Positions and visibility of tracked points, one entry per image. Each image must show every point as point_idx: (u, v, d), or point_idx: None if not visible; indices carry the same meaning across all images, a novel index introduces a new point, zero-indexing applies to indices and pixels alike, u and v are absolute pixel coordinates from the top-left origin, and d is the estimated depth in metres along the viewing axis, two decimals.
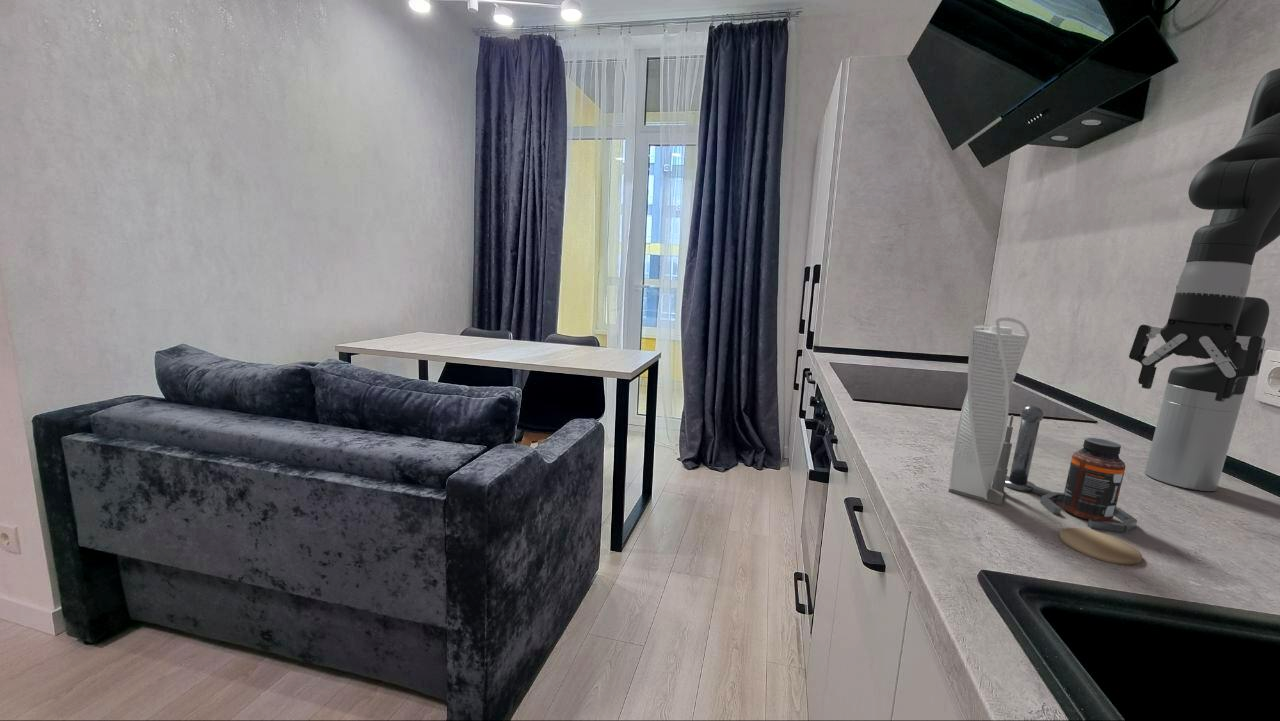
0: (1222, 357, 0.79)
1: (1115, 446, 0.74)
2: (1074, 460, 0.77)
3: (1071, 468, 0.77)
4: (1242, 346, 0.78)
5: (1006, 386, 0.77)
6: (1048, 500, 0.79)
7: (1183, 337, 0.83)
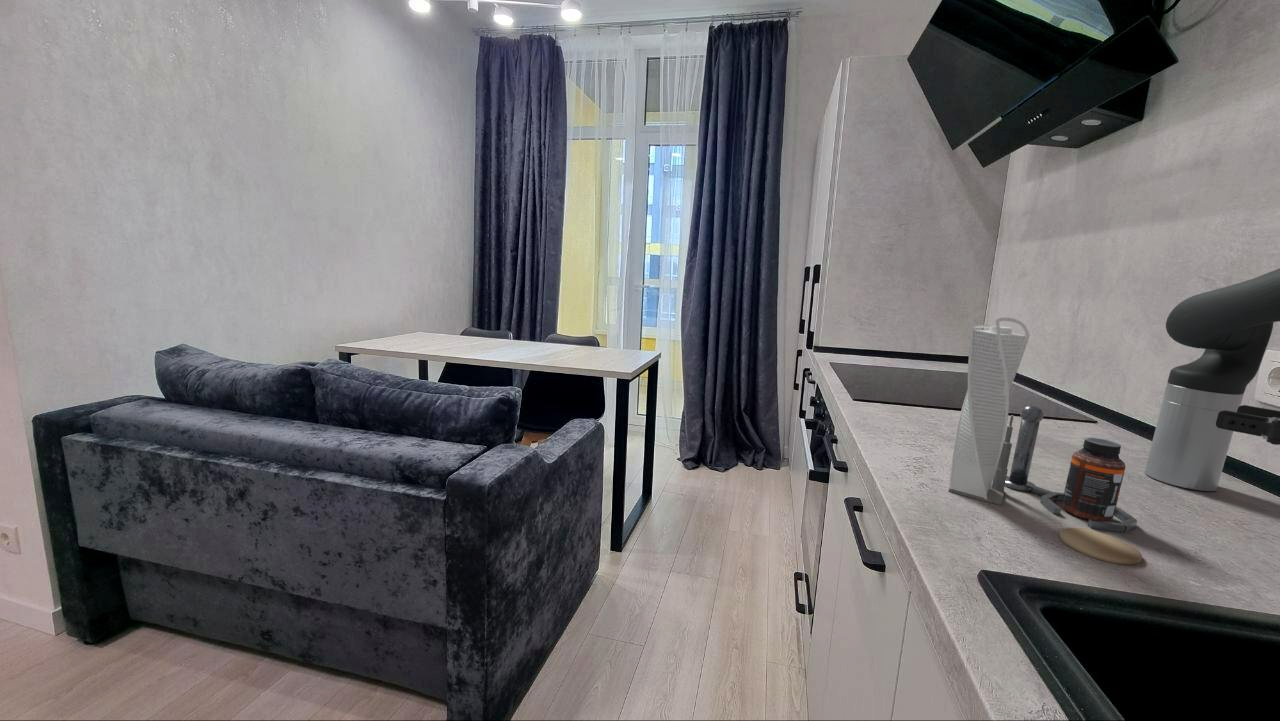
0: None
1: (1115, 446, 0.74)
2: (1074, 460, 0.77)
3: (1071, 468, 0.77)
4: None
5: (1006, 386, 0.77)
6: (1048, 500, 0.79)
7: None
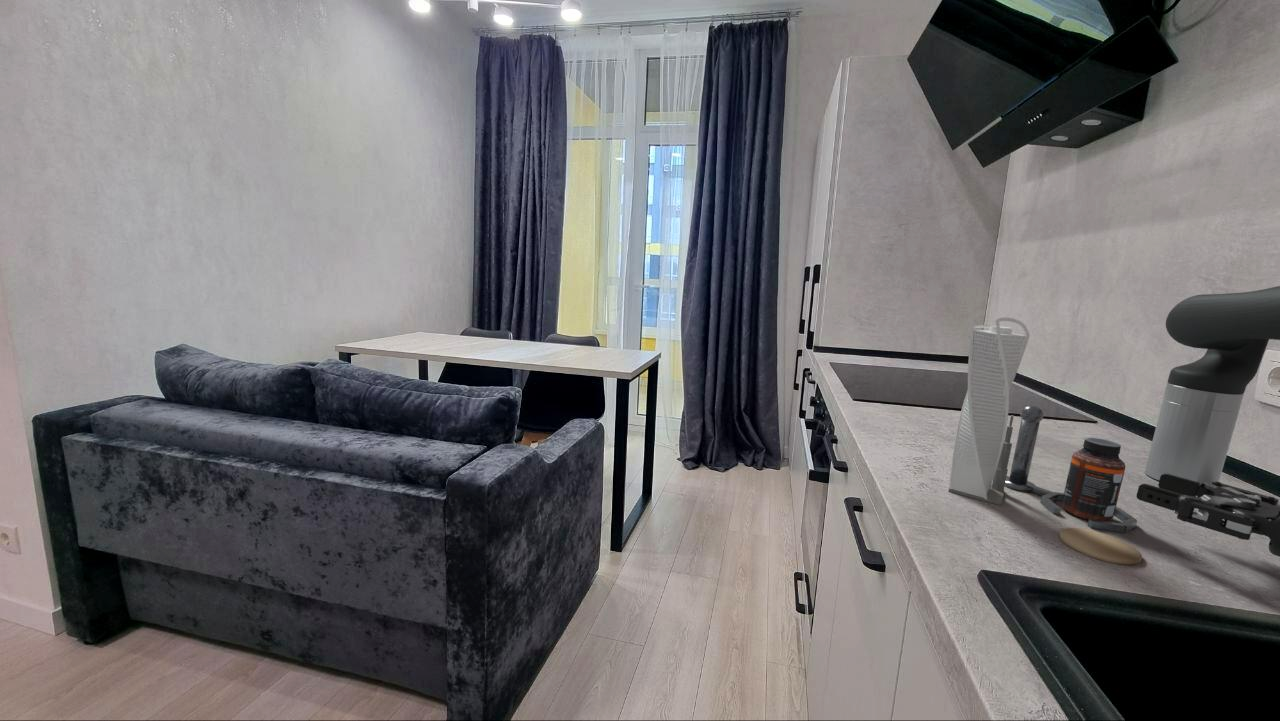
0: None
1: (1115, 446, 0.74)
2: (1074, 460, 0.77)
3: (1071, 468, 0.77)
4: None
5: (1006, 386, 0.77)
6: (1048, 500, 0.79)
7: None
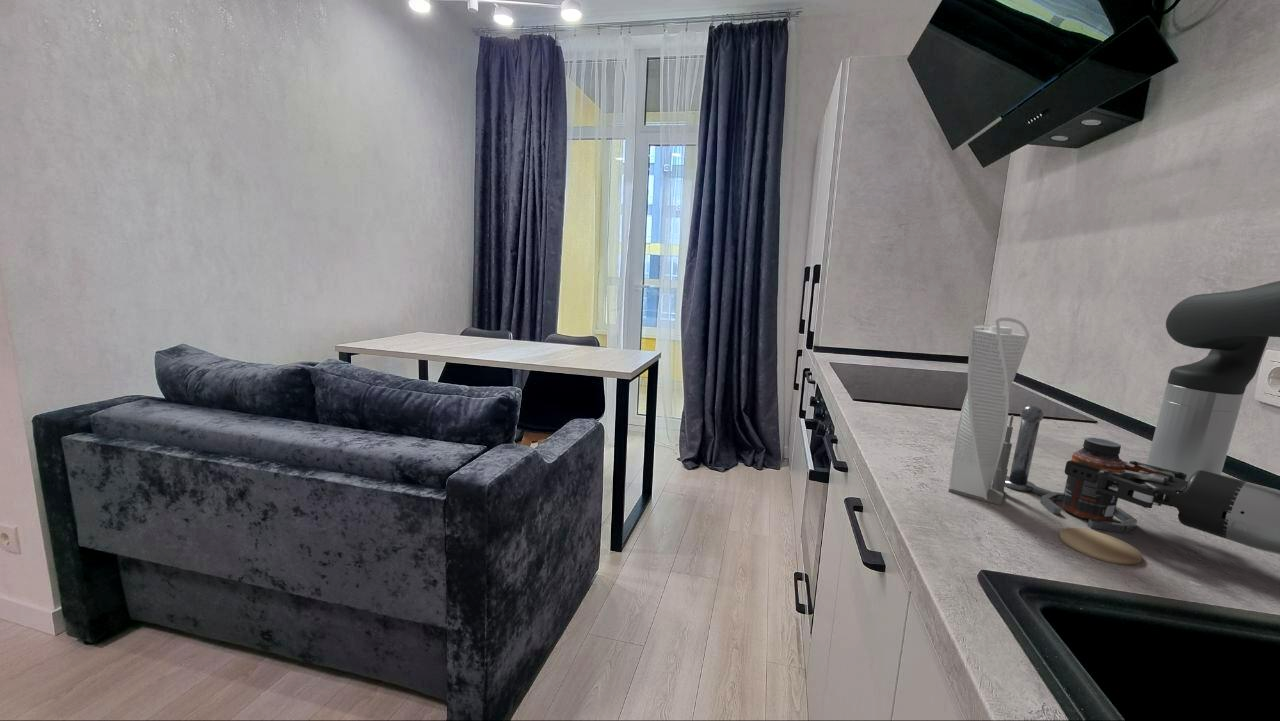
0: None
1: (1115, 446, 0.74)
2: (1074, 460, 0.77)
3: None
4: None
5: (1006, 386, 0.77)
6: (1048, 500, 0.79)
7: None
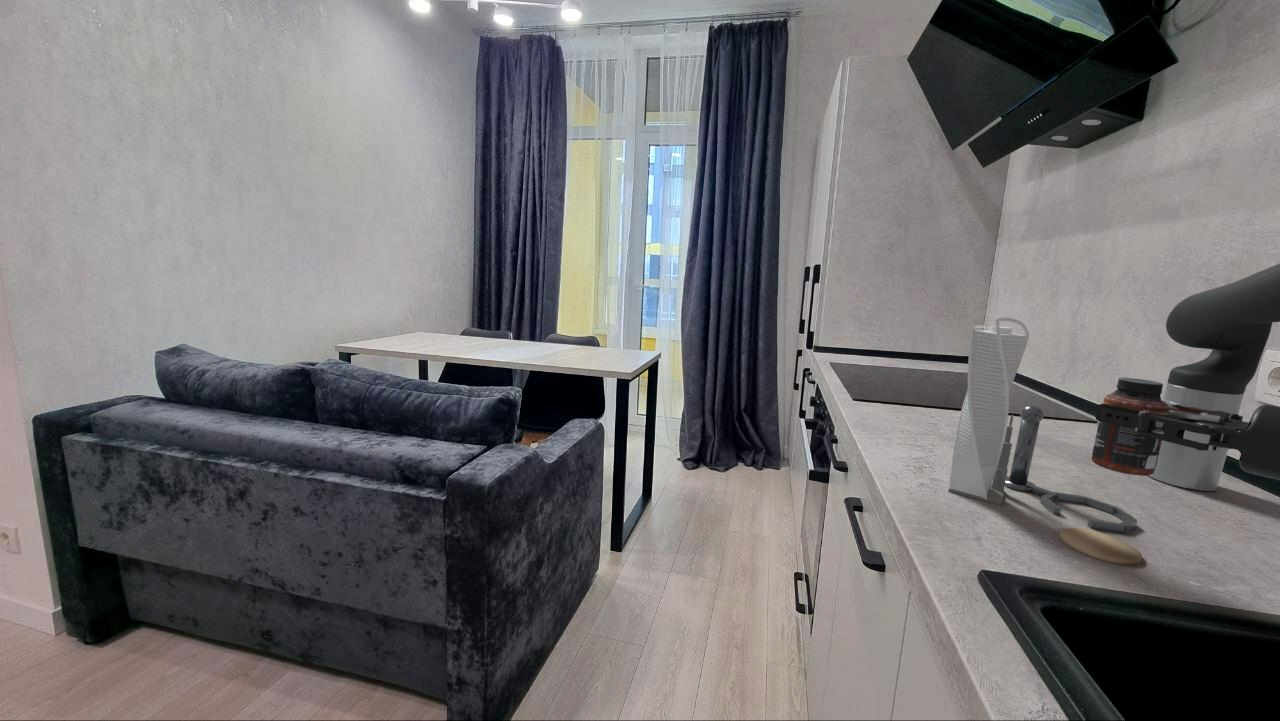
0: None
1: (1156, 384, 0.62)
2: None
3: None
4: None
5: (1006, 386, 0.77)
6: (1048, 500, 0.79)
7: None
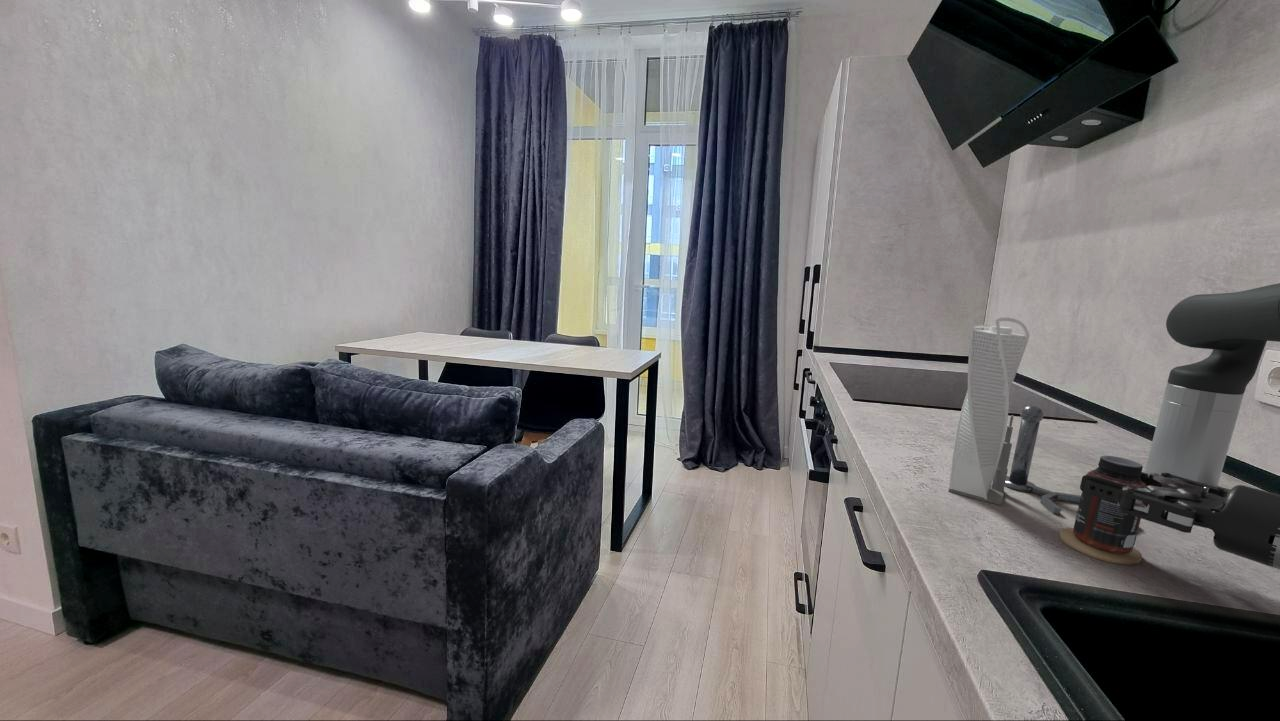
0: None
1: (1136, 466, 0.64)
2: None
3: None
4: None
5: (1006, 386, 0.77)
6: (1048, 500, 0.79)
7: None
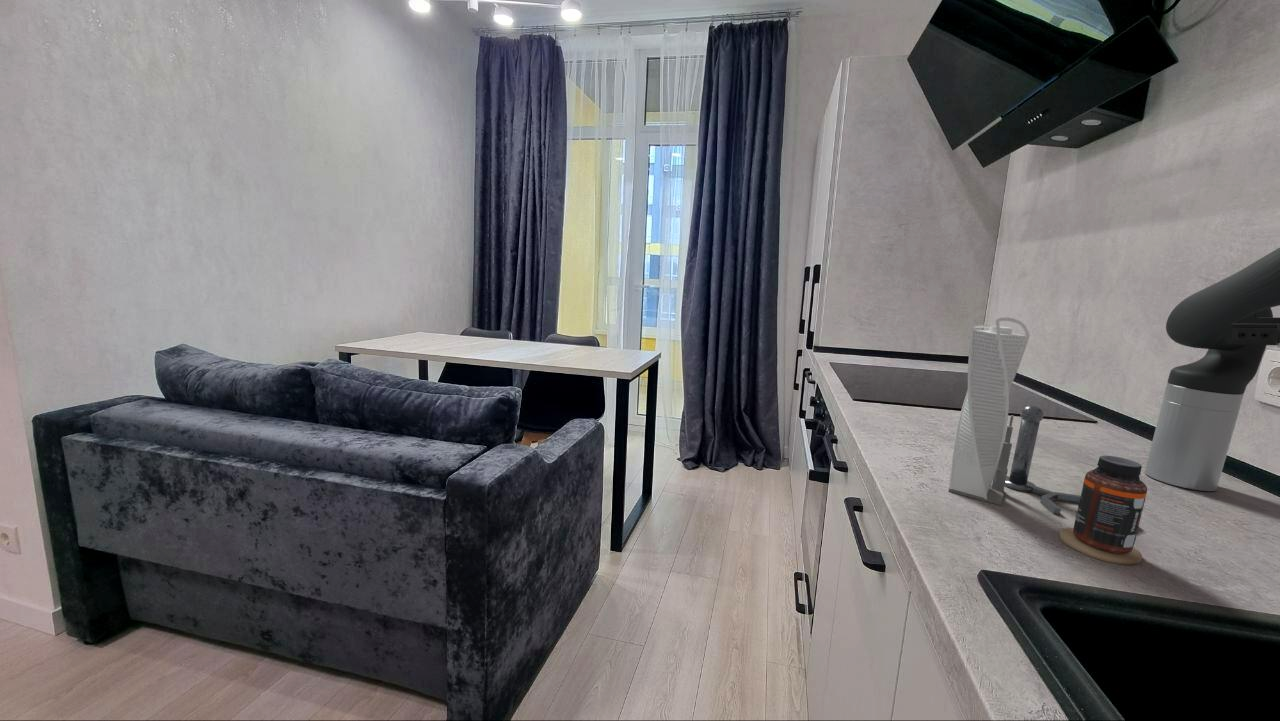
0: None
1: (1135, 466, 0.64)
2: (1087, 481, 0.67)
3: (1084, 490, 0.67)
4: None
5: (1006, 386, 0.77)
6: (1048, 500, 0.79)
7: None
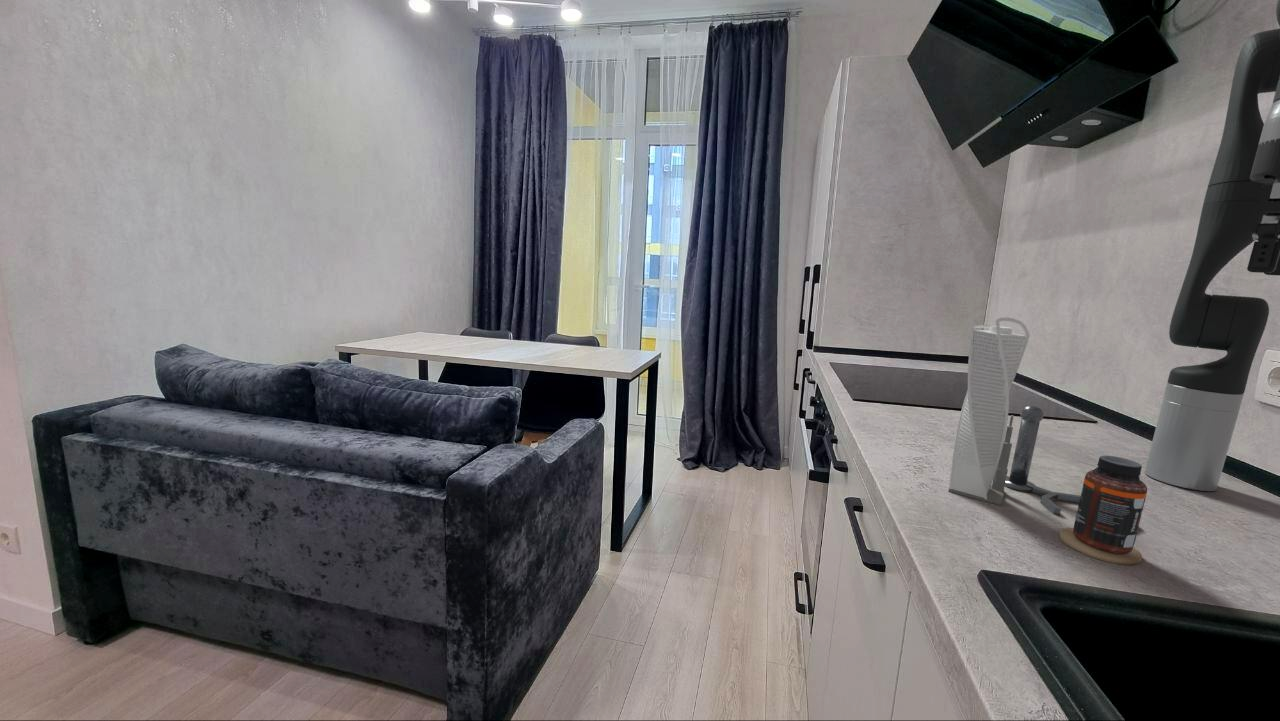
0: None
1: (1135, 466, 0.64)
2: (1087, 481, 0.67)
3: (1084, 490, 0.67)
4: None
5: (1006, 386, 0.77)
6: (1048, 500, 0.79)
7: None
